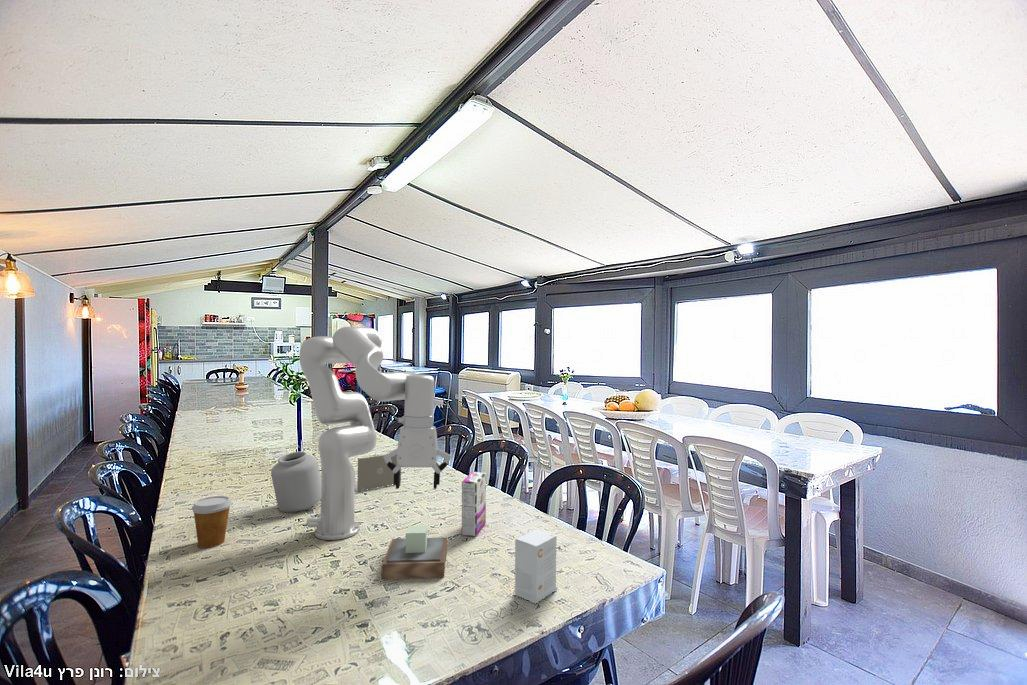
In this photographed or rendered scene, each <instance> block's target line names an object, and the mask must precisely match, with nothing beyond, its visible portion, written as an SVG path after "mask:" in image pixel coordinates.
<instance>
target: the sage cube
mask: <svg viewBox="0 0 1027 685" xmlns="http://www.w3.org/2000/svg"><path fill="white" fill-rule="evenodd" d="M406 528H407V529H406V531H405V538H406V553H423V552H426V547H427V538H428V525H427V524H426V525H421V524H420V525H419V524H418V525H408V526H407V527H406Z"/></svg>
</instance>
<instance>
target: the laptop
mask: <svg viewBox="0 0 1027 685" xmlns="http://www.w3.org/2000/svg"><path fill="white" fill-rule="evenodd" d="M384 455H385V454H382V455H375V456H370V457H369V456H368V457H362V458H358V459H357V479H356V480H355V490H356V491H361V492H363V491H362V490H366V491H368V490H367V489H371V490H373V489H372V488H377V487H382V486H387V485H392V484H394V473H393V472H392V470H391V469H390V468H389V467H388V466H387V463H386V462H385V460H384ZM391 461H392V462H393V463H394V464H395V465H397V455H395V456H393V457H391ZM400 471H401V472H402V467H401V468H400ZM401 482H402V477H401V478H400V484H401ZM387 487H388V486H387ZM382 488H383V487H382ZM377 489H378V488H377ZM356 491H355V492H356Z"/></svg>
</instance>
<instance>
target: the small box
mask: <svg viewBox="0 0 1027 685" xmlns="http://www.w3.org/2000/svg"><path fill="white" fill-rule="evenodd" d="M514 540H515V543H514V544H515V545H514V546H515V547H514V549H515V551H514V554H515V555H514V564H515V565H514V595H515V596H517V597H519V596H520V597H519V598H521V597H522V598H521V599H523V598H524V599H523V600H525V599H527V600H529V601H531V602H530V603H532V602H533V603H532V604H534V603H535V604H534V605H537V604H538V603H540V602H541V601H543V600H544V599H546V598H547V597H549V595H551V594H553V593H554V592H555V590H556V591H557V535H556V534H552V533H550V532H547V531H544V530H540V529H538V528H534V529H533V530H531V531H529V532H527V533H525V534H523V535H520V536H519V537H516V538H515V539H514ZM552 592H553V593H552ZM546 596H547V597H546ZM542 599H543V600H542ZM527 600H526V601H527ZM529 601H528V602H529ZM539 601H540V602H539ZM536 603H537V604H536Z"/></svg>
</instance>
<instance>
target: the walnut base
mask: <svg viewBox="0 0 1027 685" xmlns="http://www.w3.org/2000/svg"><path fill="white" fill-rule="evenodd" d="M447 552H448V537H447V536H446V537H427V547H426V552H423V553H406V537H405V538H392V539H391V541H390V543H389V545H388V549H387V551H386V552H385V553H386V554H385V556H384V559H383V561H382V563H381V580H396V579H398V580H399V579H426V578H427V579H428V578H429V579H431V578H444V577H445V572H446V564H445V563H446V562H447Z"/></svg>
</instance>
